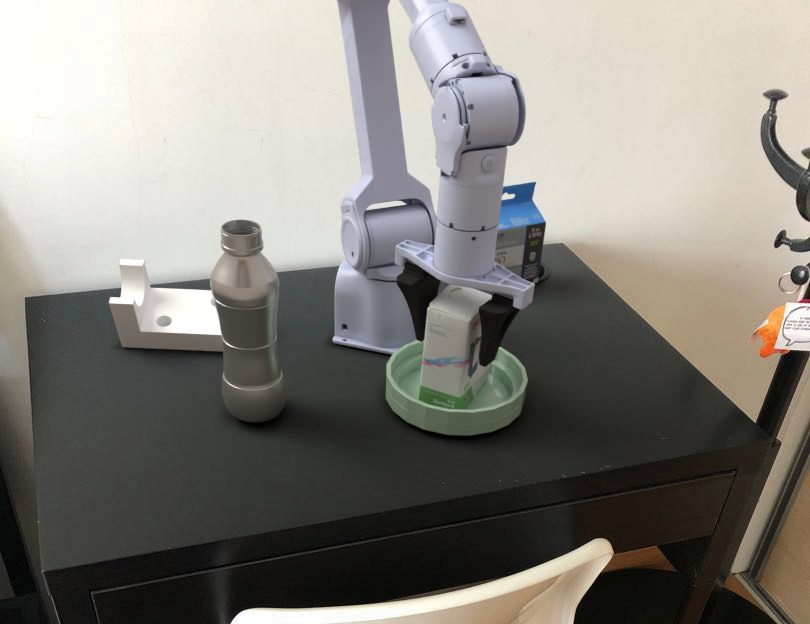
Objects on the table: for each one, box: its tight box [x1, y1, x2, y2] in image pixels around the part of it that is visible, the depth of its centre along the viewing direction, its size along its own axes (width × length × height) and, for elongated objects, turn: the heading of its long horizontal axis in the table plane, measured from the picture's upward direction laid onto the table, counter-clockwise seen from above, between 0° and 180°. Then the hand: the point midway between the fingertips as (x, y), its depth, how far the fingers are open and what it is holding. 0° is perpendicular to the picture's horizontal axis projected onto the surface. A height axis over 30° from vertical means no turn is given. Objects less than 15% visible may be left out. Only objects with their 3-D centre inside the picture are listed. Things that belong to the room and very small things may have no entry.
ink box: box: [418, 284, 492, 409], centre depth 94 cm, size 9×5×12 cm, turn 155°
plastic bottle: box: [209, 219, 287, 423], centre depth 88 cm, size 6×7×20 cm
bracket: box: [108, 258, 223, 352], centre depth 103 cm, size 13×7×8 cm, turn 90°
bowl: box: [385, 340, 529, 436], centre depth 97 cm, size 15×15×4 cm
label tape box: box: [494, 181, 547, 284], centre depth 115 cm, size 9×4×12 cm, turn 118°
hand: (455, 349), depth 92 cm, fingers open, 7 cm apart
